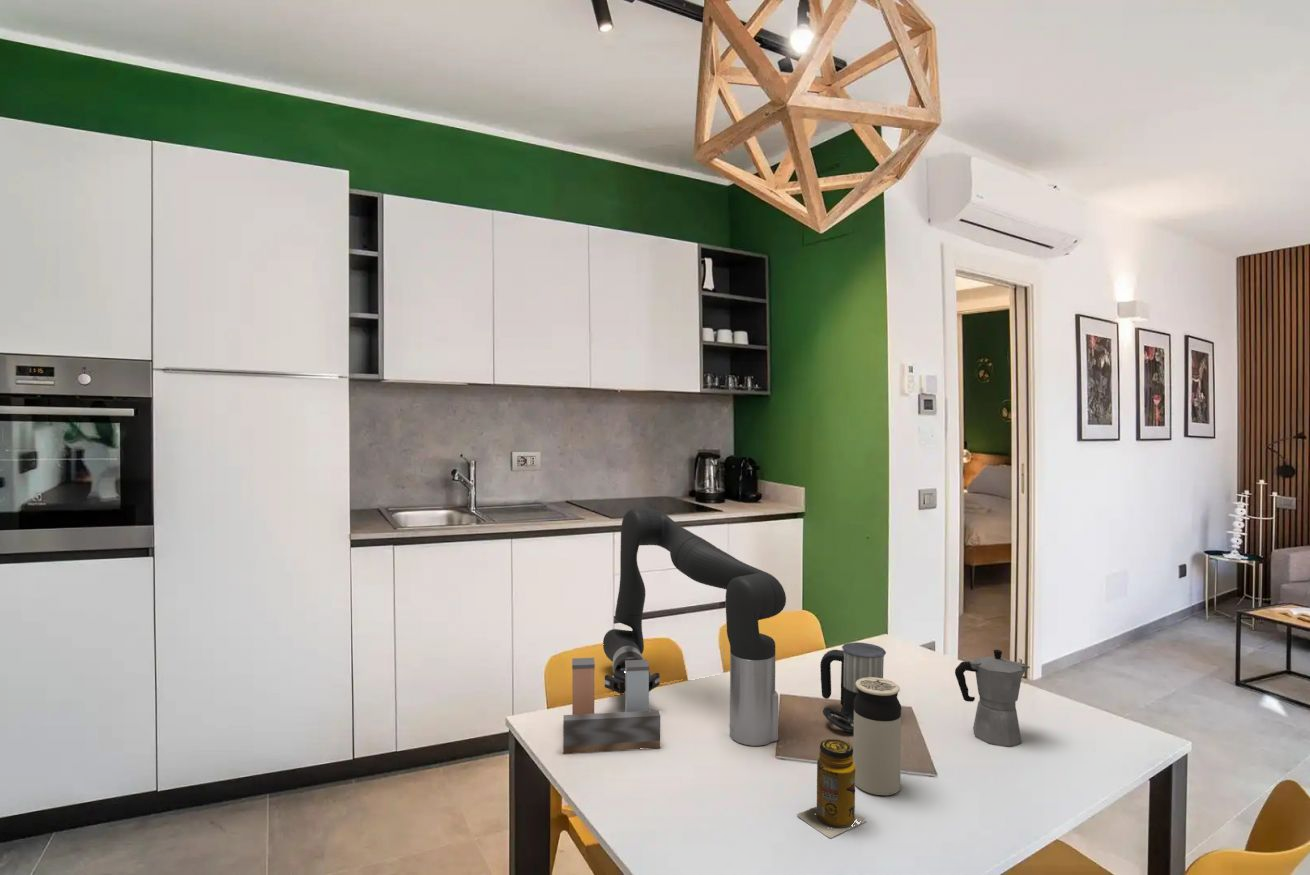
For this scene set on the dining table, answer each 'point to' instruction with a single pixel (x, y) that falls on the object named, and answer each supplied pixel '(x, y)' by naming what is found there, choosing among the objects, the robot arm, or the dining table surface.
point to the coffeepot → (994, 697)
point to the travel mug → (877, 736)
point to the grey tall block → (636, 685)
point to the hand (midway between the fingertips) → (636, 695)
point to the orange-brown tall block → (583, 685)
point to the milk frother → (850, 677)
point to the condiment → (834, 790)
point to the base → (611, 731)
